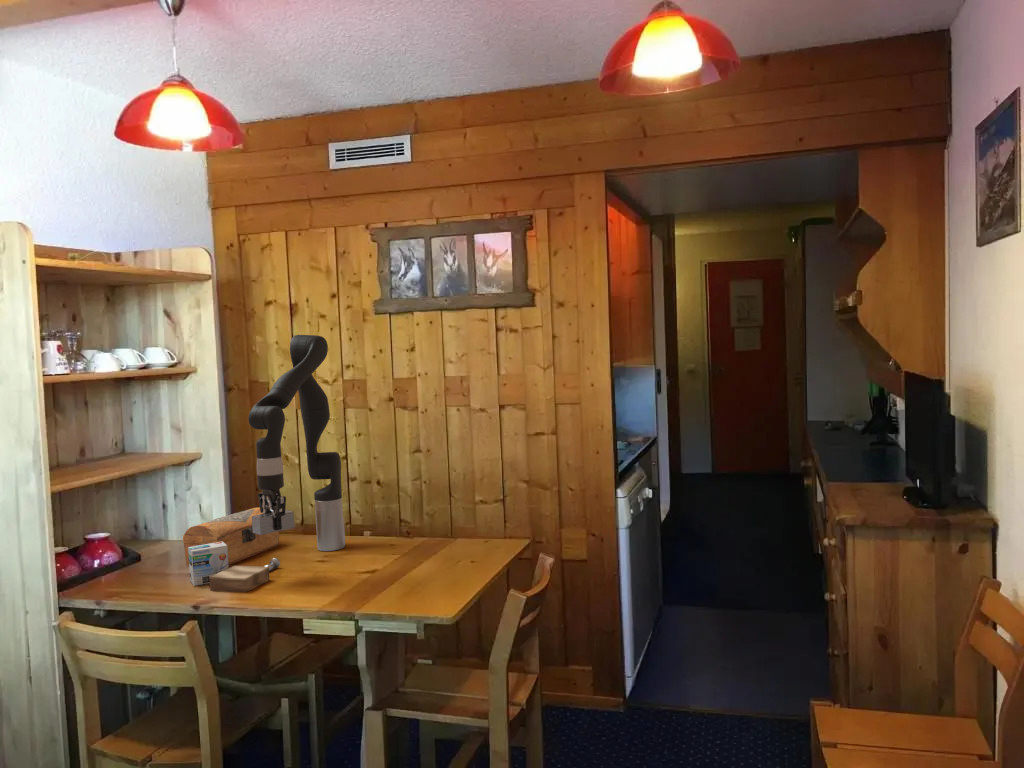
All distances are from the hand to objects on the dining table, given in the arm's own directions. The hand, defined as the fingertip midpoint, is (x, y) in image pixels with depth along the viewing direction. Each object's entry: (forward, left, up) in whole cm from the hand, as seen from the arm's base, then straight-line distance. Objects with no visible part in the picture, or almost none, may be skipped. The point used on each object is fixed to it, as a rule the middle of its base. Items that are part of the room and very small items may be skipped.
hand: (273, 528), depth 244 cm
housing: (0, 0, -1) cm, 1 cm away
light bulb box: (+3, -21, -16) cm, 27 cm away
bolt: (-9, -8, -16) cm, 20 cm away
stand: (+6, -8, -16) cm, 19 cm away
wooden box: (-25, -32, -16) cm, 44 cm away
